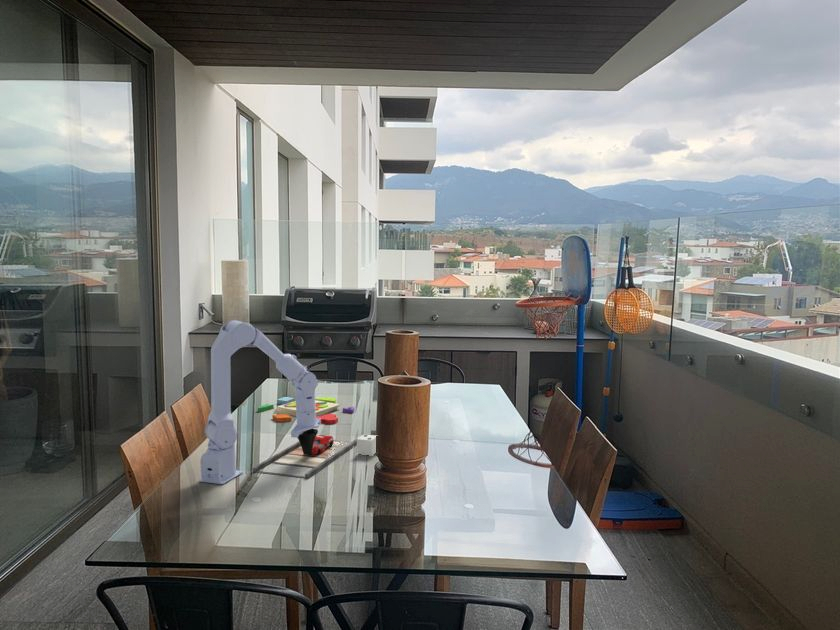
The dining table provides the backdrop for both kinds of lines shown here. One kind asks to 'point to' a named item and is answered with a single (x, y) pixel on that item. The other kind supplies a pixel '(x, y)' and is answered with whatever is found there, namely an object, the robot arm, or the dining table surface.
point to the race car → (321, 444)
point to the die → (366, 445)
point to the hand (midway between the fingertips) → (307, 453)
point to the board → (303, 459)
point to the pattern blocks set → (321, 408)
